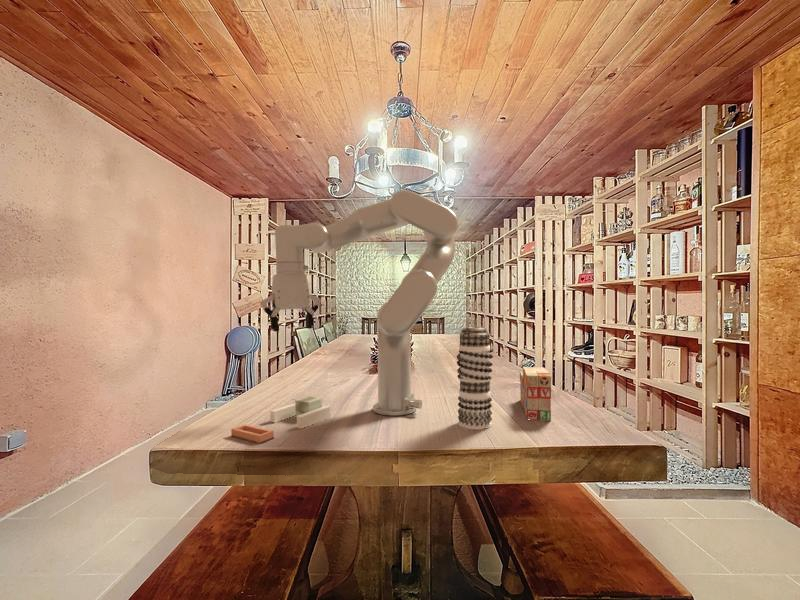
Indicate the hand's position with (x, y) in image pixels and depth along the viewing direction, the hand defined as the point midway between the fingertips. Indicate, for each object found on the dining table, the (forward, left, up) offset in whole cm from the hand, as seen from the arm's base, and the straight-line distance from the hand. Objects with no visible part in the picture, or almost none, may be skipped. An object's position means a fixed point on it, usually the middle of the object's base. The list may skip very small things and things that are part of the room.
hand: (292, 329), depth 119 cm
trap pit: (-6, +20, -24) cm, 32 cm away
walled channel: (-6, +4, -24) cm, 25 cm away
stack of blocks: (-58, -37, -24) cm, 73 cm away
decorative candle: (-48, -16, -24) cm, 56 cm away
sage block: (-6, +1, -24) cm, 25 cm away
